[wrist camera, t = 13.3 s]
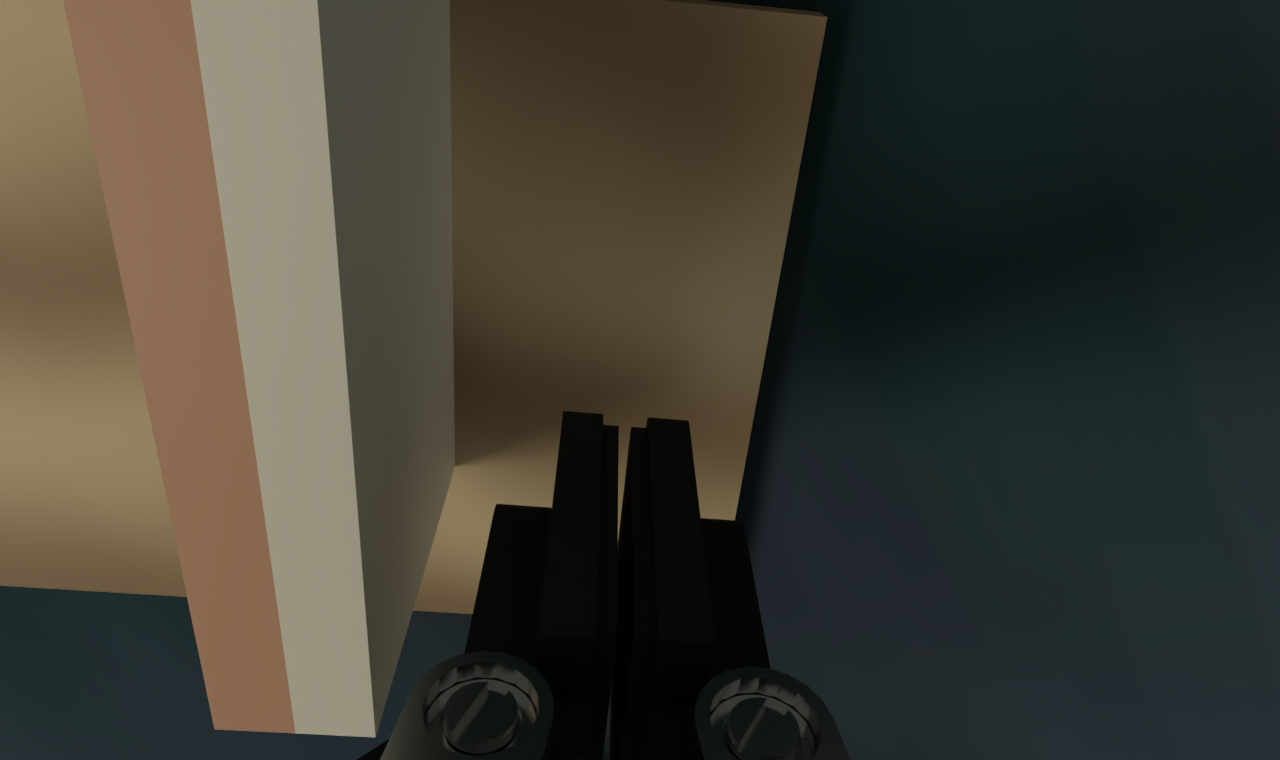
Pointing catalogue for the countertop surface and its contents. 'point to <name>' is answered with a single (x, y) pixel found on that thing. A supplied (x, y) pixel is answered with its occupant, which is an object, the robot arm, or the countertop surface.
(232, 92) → the slab
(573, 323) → the mat
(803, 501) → the countertop surface
